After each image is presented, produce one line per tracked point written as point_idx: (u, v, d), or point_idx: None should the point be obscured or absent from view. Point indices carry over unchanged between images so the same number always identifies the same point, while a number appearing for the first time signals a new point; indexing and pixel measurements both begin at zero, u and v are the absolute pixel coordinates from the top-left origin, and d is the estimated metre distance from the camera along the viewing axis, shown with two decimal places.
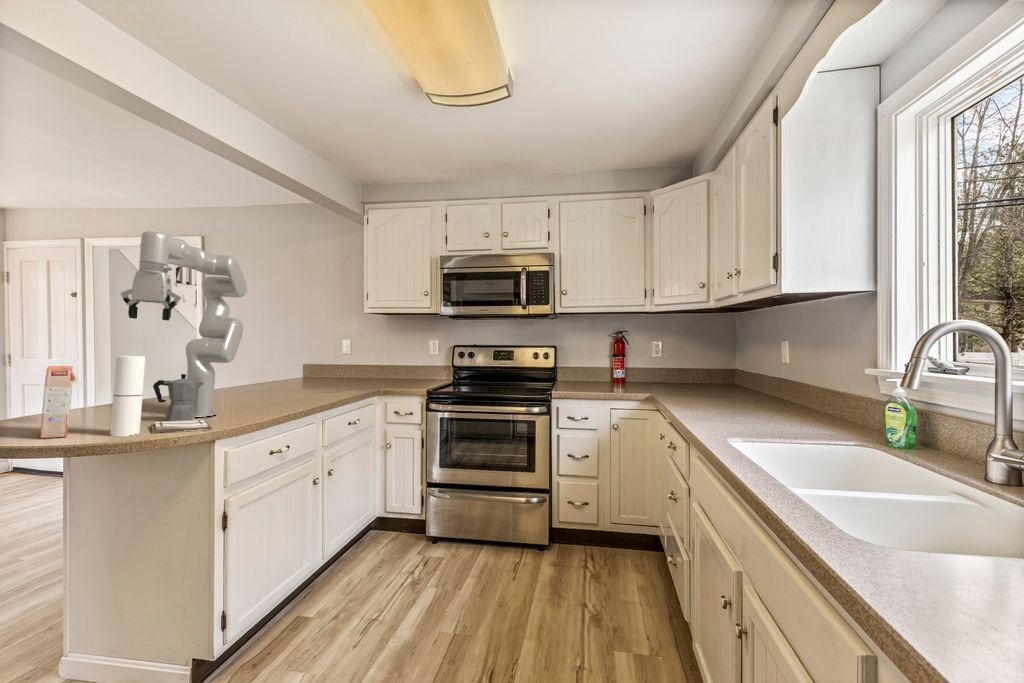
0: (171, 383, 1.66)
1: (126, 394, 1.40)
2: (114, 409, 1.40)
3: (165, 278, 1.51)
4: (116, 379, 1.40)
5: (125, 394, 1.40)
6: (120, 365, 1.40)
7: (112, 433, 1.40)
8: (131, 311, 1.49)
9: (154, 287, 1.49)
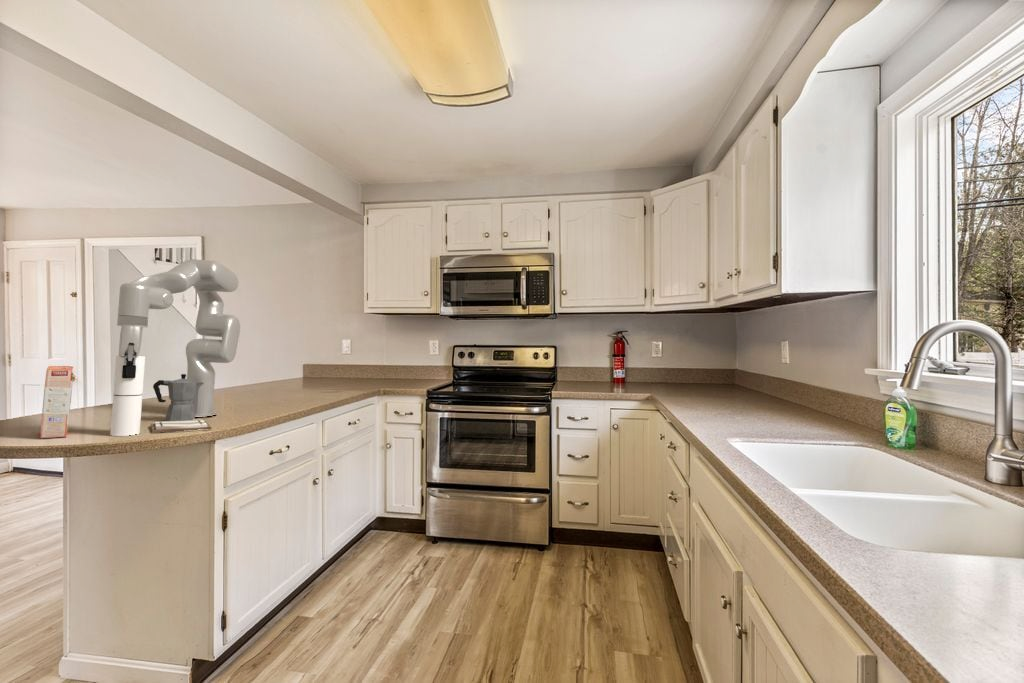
0: (171, 383, 1.66)
1: (126, 394, 1.40)
2: (114, 408, 1.40)
3: None
4: (116, 379, 1.40)
5: (125, 394, 1.40)
6: (120, 365, 1.40)
7: (112, 433, 1.40)
8: None
9: None
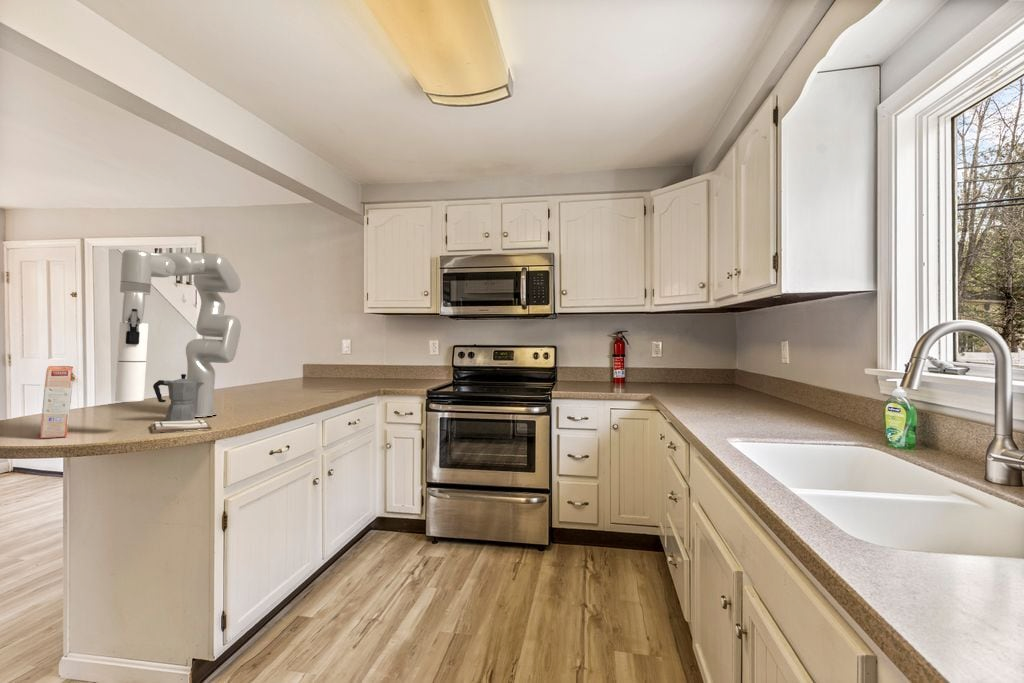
0: (171, 383, 1.66)
1: (130, 360, 1.41)
2: (118, 374, 1.41)
3: None
4: (120, 345, 1.41)
5: (129, 360, 1.41)
6: (124, 331, 1.41)
7: (117, 398, 1.41)
8: None
9: None
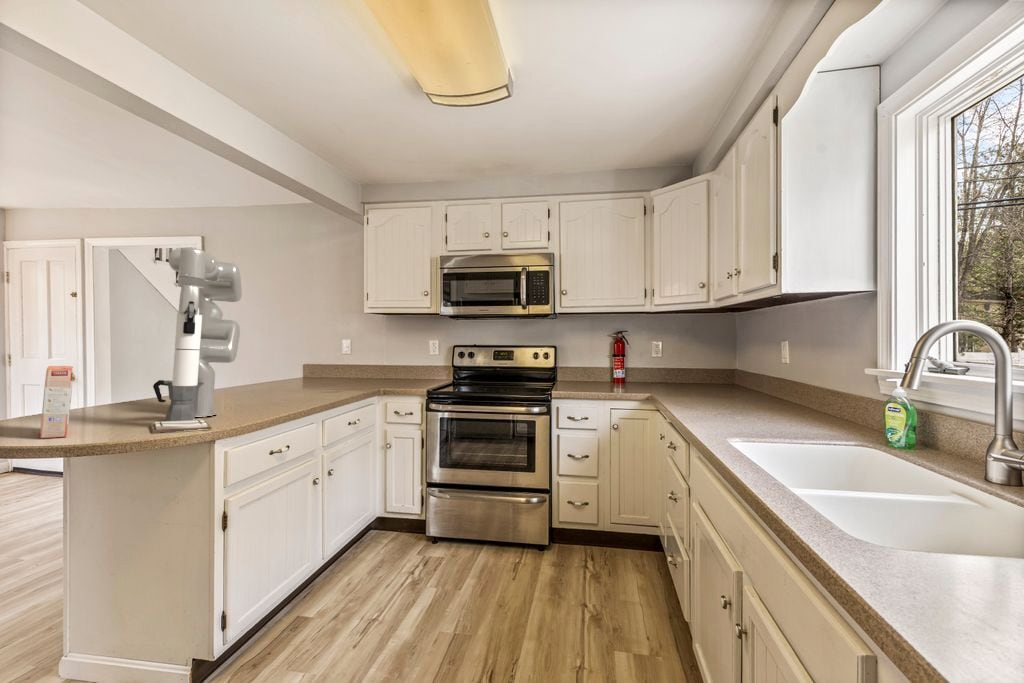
0: (171, 383, 1.66)
1: (187, 348, 1.55)
2: (176, 361, 1.54)
3: None
4: (177, 334, 1.54)
5: (186, 348, 1.54)
6: (181, 321, 1.54)
7: (174, 383, 1.54)
8: None
9: None
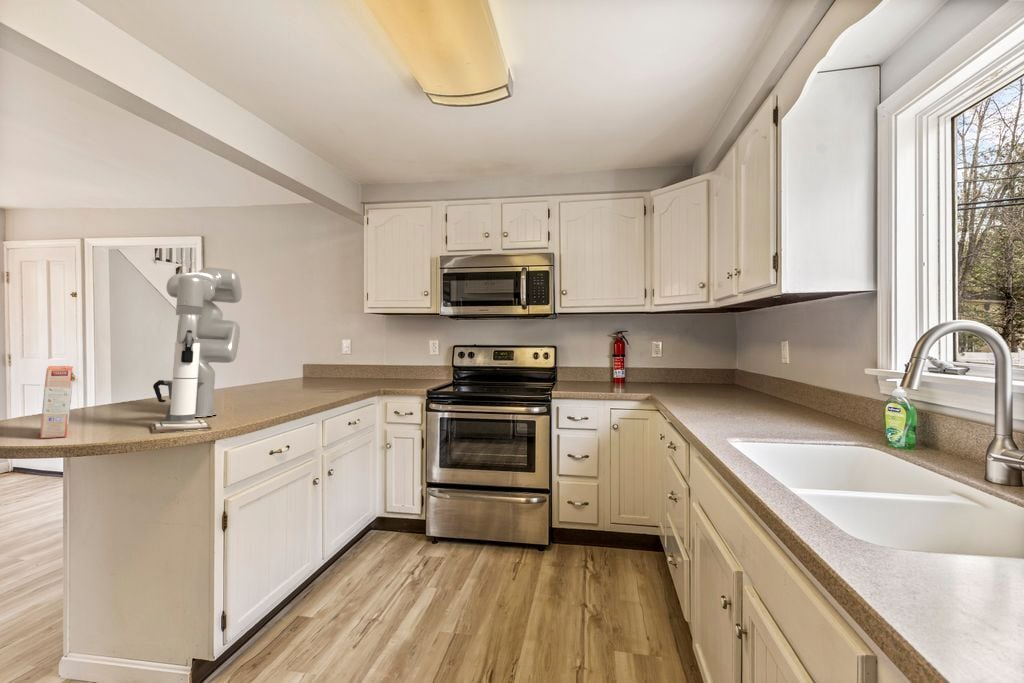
0: (171, 383, 1.66)
1: (184, 377, 1.54)
2: (174, 390, 1.54)
3: None
4: (175, 363, 1.54)
5: (184, 377, 1.54)
6: (179, 350, 1.54)
7: (172, 412, 1.53)
8: None
9: None
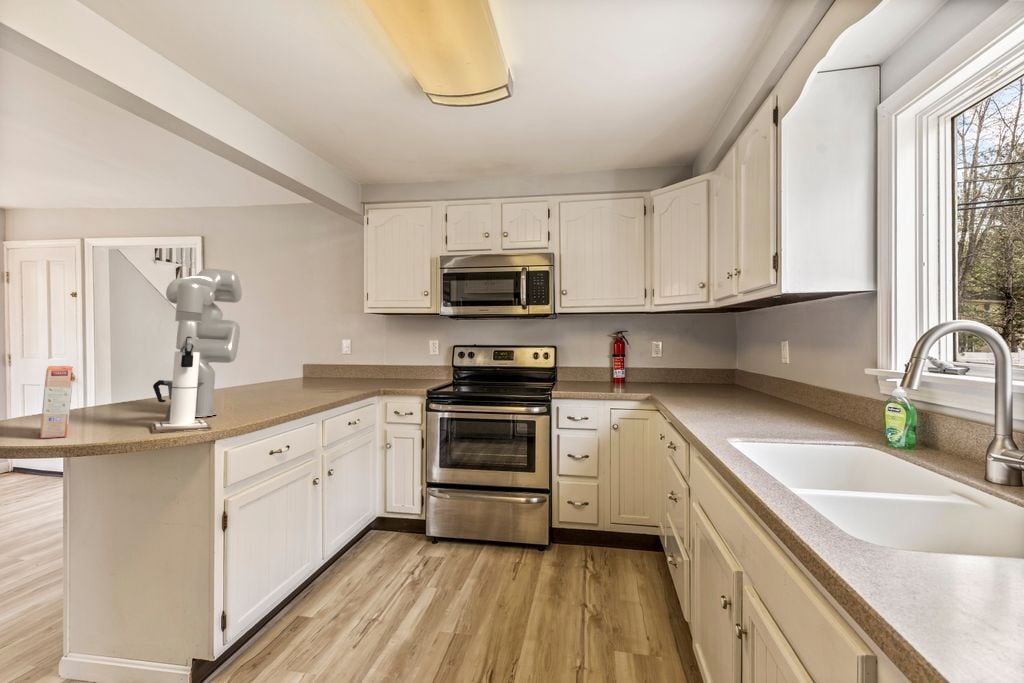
0: (171, 383, 1.65)
1: (184, 386, 1.55)
2: (173, 399, 1.54)
3: None
4: (175, 373, 1.54)
5: (183, 386, 1.54)
6: (179, 360, 1.54)
7: (171, 422, 1.54)
8: None
9: None
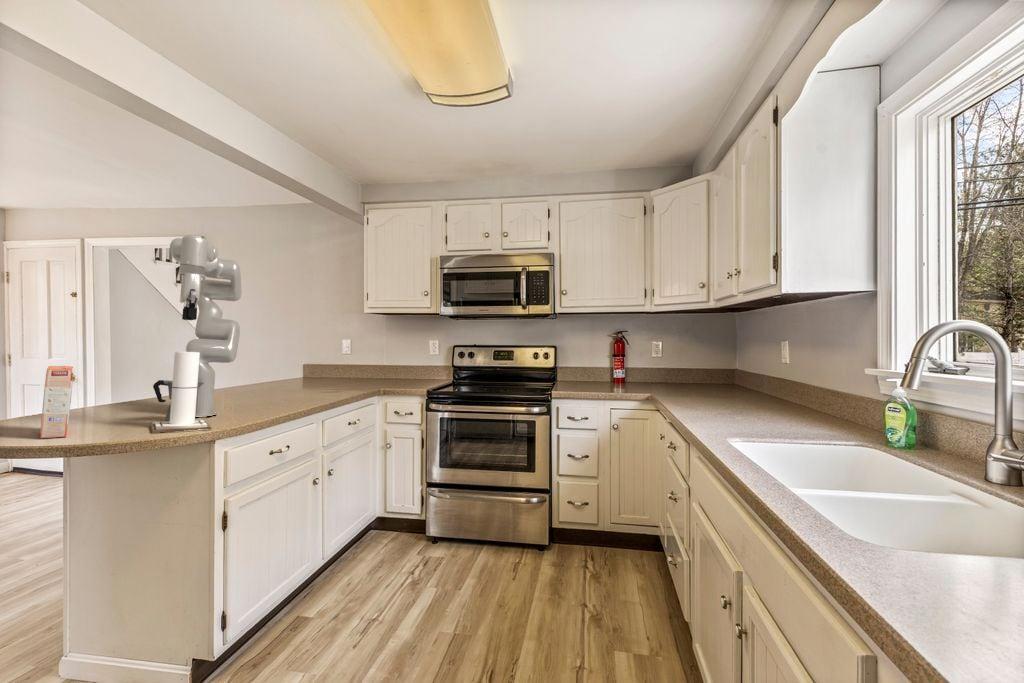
0: (171, 383, 1.66)
1: (184, 386, 1.55)
2: (173, 399, 1.54)
3: None
4: (175, 373, 1.54)
5: (183, 386, 1.54)
6: (179, 360, 1.54)
7: (171, 422, 1.54)
8: None
9: None
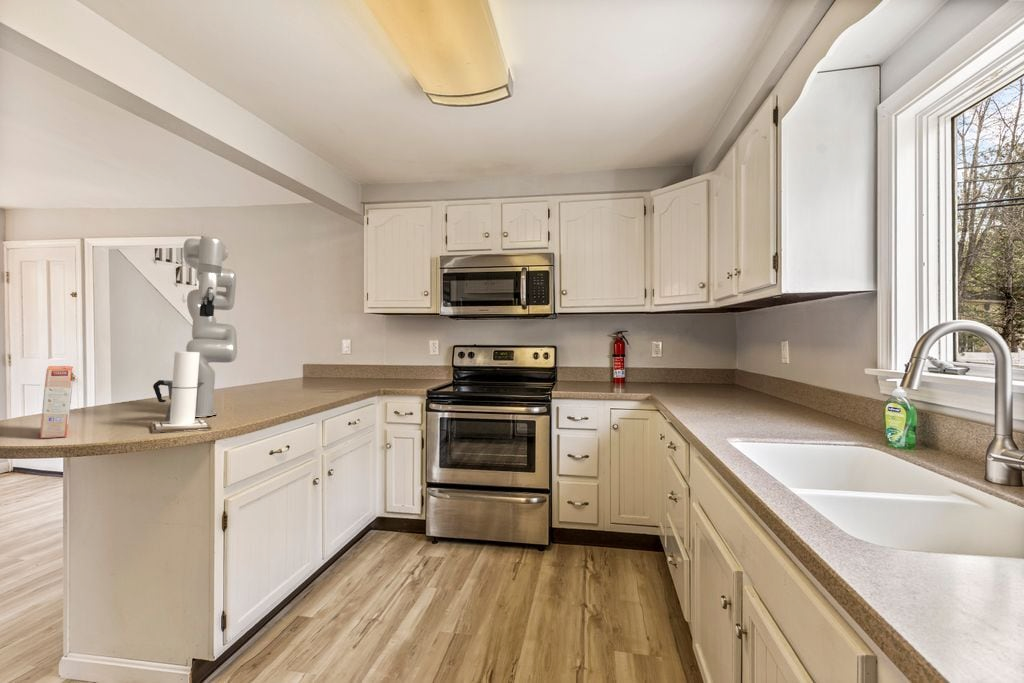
0: (171, 383, 1.66)
1: (184, 386, 1.55)
2: (173, 399, 1.54)
3: None
4: (175, 373, 1.54)
5: (183, 386, 1.54)
6: (179, 360, 1.54)
7: (171, 422, 1.54)
8: None
9: None
